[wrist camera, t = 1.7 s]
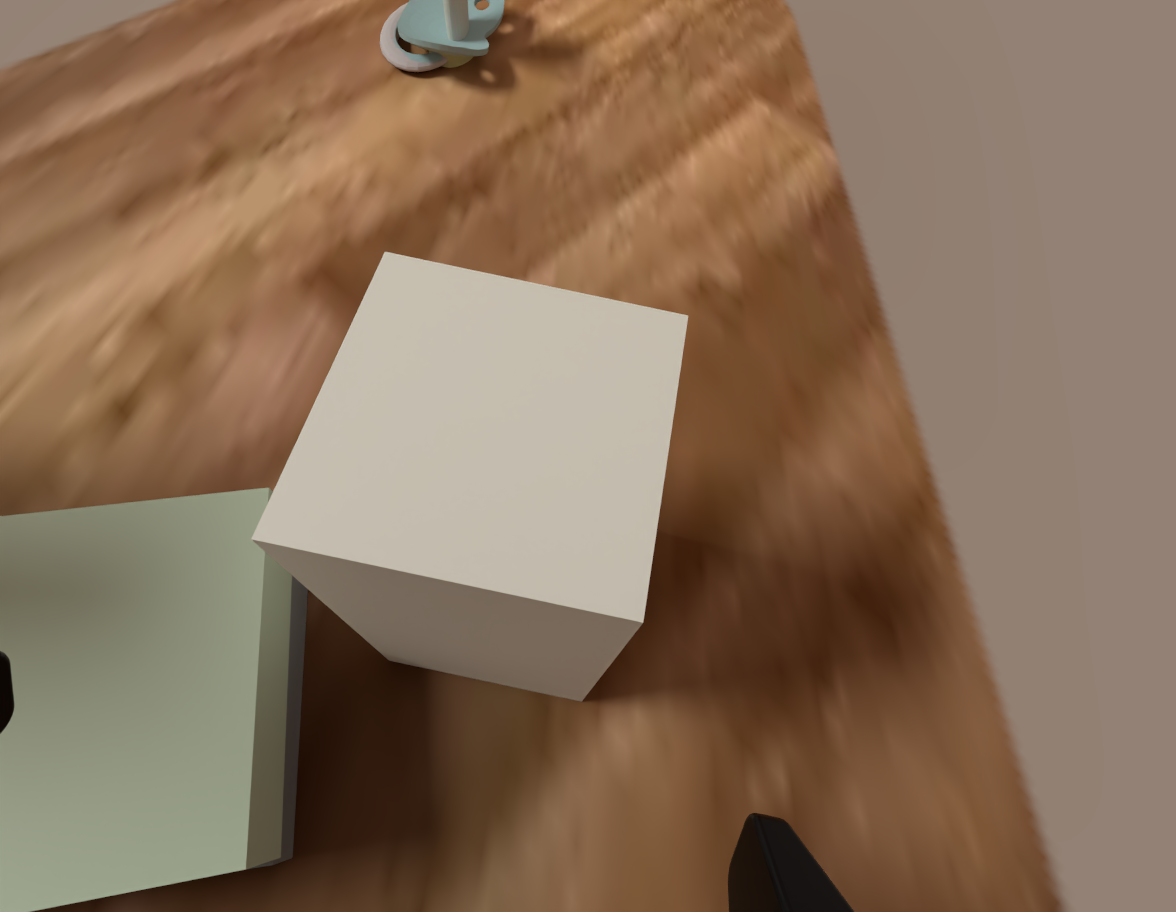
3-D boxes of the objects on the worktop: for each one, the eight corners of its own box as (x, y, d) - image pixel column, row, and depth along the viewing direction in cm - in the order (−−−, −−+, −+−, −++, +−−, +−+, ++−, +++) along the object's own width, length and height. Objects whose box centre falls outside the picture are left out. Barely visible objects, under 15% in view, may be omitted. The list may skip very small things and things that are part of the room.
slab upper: (280, 857, 15) (246, 868, 13) (-148, 941, 14) (-256, 967, 12) (294, 516, 19) (268, 487, 17) (-40, 554, 18) (-109, 528, 16)
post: (581, 701, 19) (643, 622, 9) (388, 660, 19) (250, 539, 9) (614, 521, 22) (688, 315, 12) (445, 485, 22) (385, 252, 12)
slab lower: (300, 855, 17) (271, 865, 15) (-74, 917, 16) (-157, 937, 14) (316, 544, 21) (295, 520, 19) (17, 573, 20) (-37, 550, 18)
